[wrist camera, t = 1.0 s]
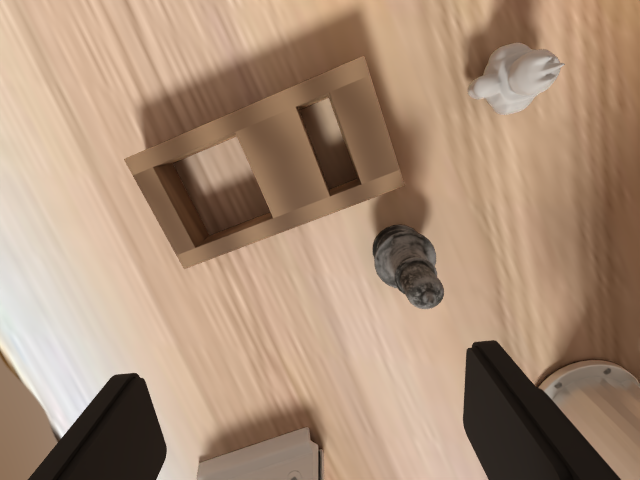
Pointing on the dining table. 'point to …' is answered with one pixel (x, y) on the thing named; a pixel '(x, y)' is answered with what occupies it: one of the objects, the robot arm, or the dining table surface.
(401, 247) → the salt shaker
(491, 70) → the white rounded irregular piece
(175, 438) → the dining table surface
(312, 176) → the frame
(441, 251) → the dining table surface
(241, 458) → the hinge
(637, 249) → the dining table surface
